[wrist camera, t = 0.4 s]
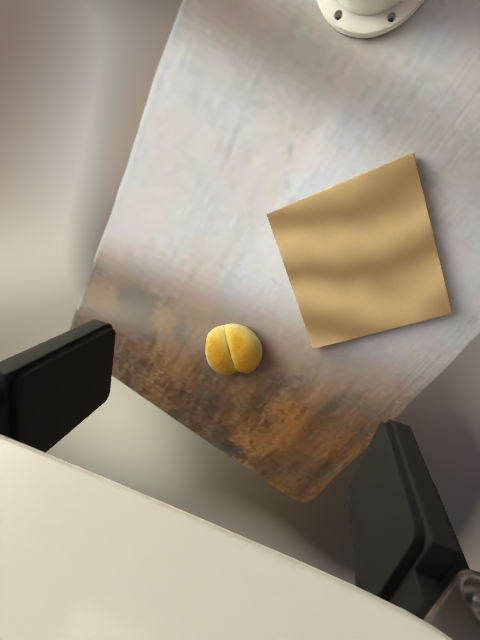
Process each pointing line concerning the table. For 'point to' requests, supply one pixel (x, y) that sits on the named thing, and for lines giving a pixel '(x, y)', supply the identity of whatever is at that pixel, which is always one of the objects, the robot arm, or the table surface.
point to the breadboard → (362, 255)
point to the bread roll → (233, 349)
